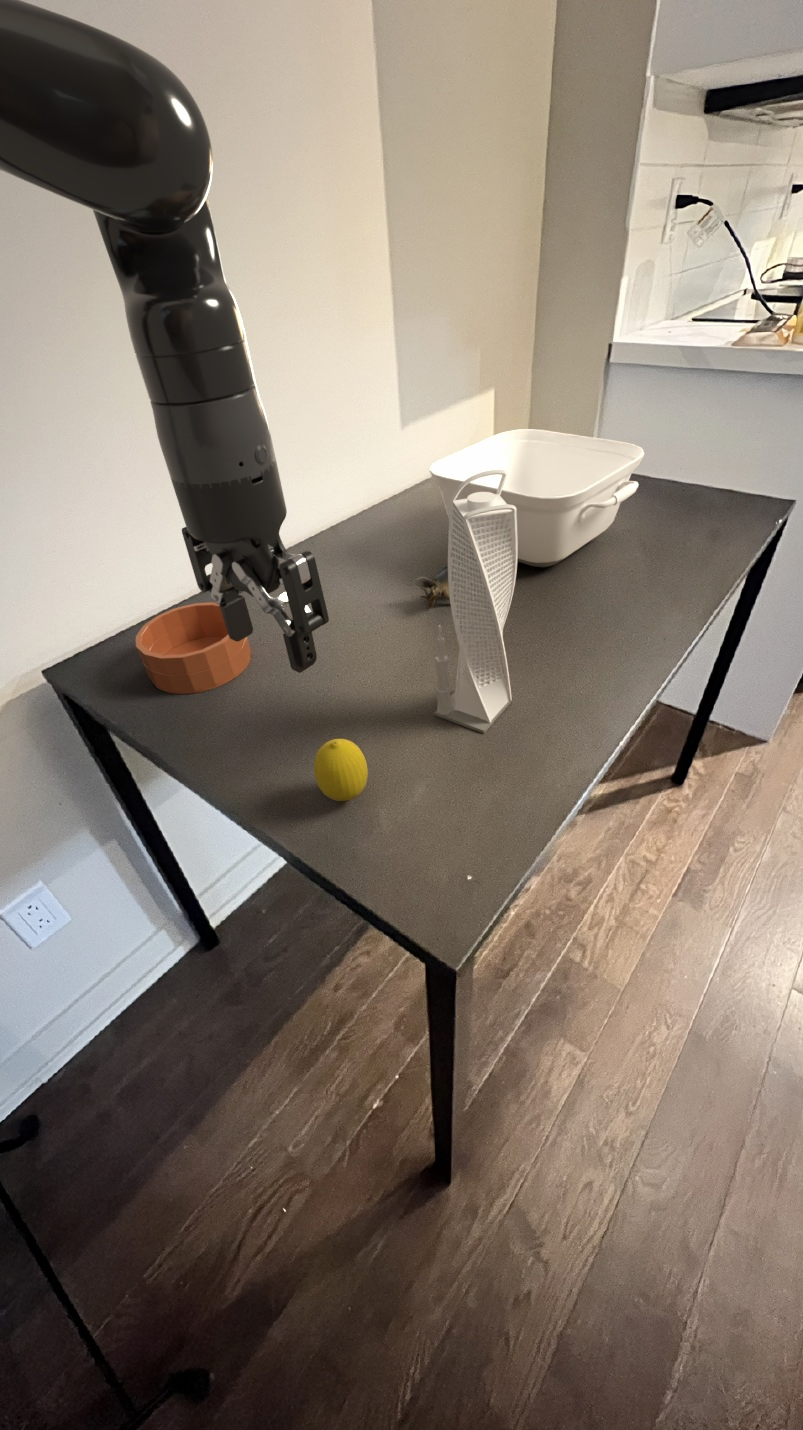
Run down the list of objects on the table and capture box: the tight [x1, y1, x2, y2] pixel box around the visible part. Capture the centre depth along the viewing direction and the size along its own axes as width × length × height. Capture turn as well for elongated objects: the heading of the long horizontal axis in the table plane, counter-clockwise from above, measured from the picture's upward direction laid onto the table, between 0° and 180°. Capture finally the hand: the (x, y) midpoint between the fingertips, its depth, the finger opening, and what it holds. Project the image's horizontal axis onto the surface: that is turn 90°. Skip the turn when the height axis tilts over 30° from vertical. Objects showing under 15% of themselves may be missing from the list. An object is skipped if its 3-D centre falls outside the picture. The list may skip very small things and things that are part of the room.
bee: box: [414, 565, 450, 611], centre depth 97 cm, size 8×7×9 cm
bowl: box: [135, 601, 252, 695], centre depth 89 cm, size 15×15×6 cm
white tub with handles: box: [428, 428, 645, 568], centre depth 108 cm, size 34×29×15 cm
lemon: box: [313, 738, 369, 802], centre depth 65 cm, size 6×6×8 cm
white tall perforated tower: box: [434, 470, 518, 734], centre depth 69 cm, size 8×8×28 cm
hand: (272, 651), depth 55 cm, fingers open, 8 cm apart
